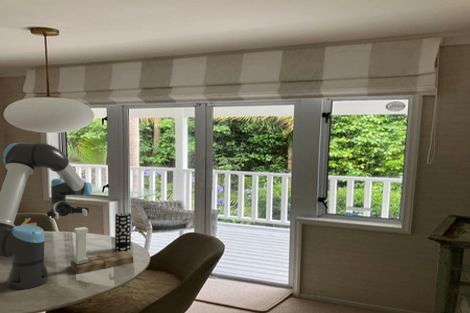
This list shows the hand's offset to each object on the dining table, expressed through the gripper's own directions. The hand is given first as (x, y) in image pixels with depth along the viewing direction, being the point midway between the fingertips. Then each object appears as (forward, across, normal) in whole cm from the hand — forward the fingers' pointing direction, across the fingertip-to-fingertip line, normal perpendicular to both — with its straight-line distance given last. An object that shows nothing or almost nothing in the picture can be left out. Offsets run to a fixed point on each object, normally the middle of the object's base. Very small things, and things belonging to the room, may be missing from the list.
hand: (72, 214), depth 176 cm
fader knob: (+18, +1, -19) cm, 26 cm away
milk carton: (-21, +16, -23) cm, 35 cm away
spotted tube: (0, -26, -23) cm, 35 cm away
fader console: (+18, -9, -23) cm, 30 cm away
